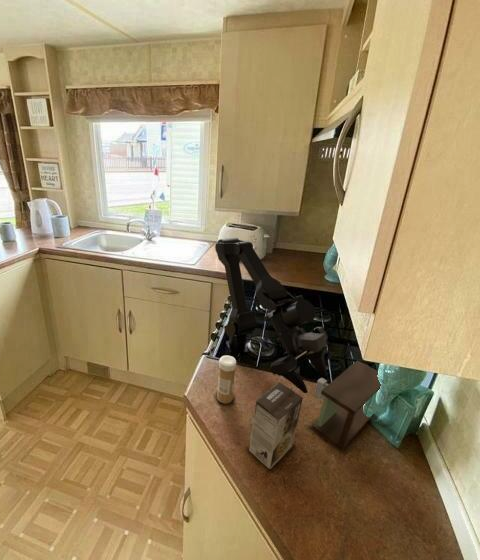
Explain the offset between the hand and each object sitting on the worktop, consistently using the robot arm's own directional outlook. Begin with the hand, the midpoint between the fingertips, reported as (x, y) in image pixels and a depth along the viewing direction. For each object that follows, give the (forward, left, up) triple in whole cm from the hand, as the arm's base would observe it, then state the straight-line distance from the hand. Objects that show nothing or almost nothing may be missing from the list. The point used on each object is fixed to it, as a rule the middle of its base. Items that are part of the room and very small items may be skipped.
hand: (316, 384), depth 81 cm
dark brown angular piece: (+4, +7, -9) cm, 13 cm away
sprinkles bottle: (-7, -22, -9) cm, 25 cm away
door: (+2, +1, -8) cm, 8 cm away
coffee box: (+9, -15, -9) cm, 20 cm away
